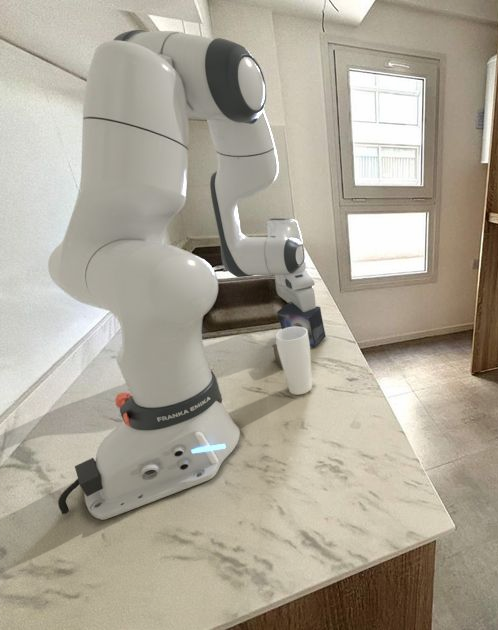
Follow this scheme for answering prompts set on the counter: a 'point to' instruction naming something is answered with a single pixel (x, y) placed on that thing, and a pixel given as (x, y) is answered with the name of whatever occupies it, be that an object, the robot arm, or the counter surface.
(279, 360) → the walnut block
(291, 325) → the small box
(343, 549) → the counter surface
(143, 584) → the counter surface
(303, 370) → the drinking glass
